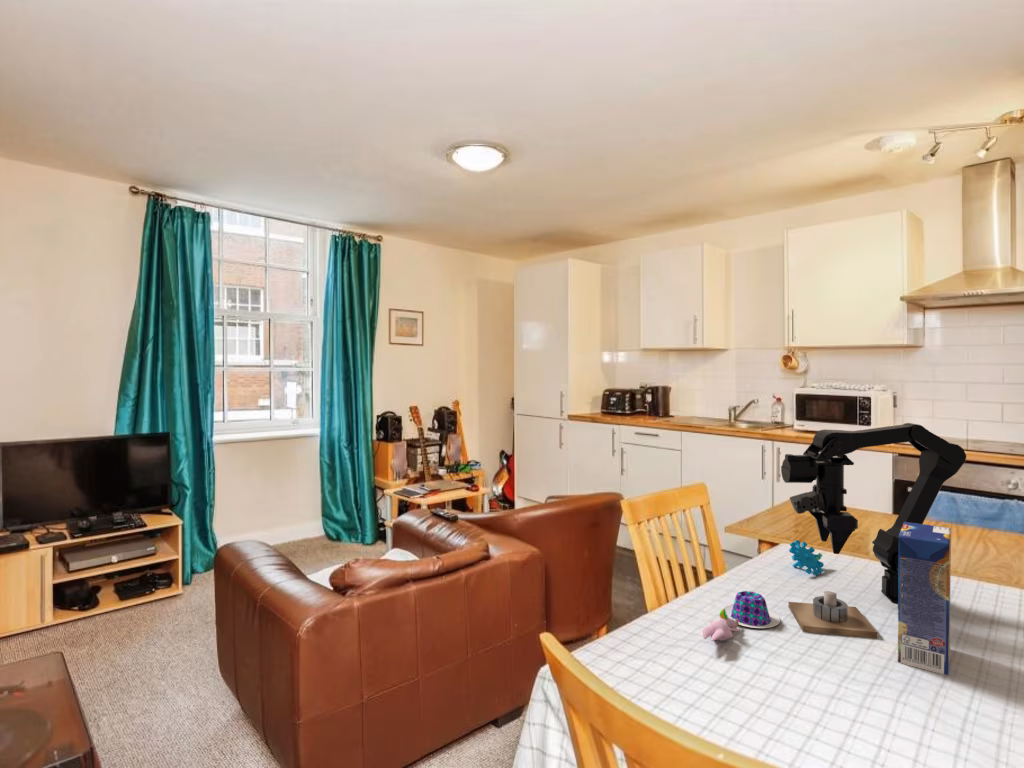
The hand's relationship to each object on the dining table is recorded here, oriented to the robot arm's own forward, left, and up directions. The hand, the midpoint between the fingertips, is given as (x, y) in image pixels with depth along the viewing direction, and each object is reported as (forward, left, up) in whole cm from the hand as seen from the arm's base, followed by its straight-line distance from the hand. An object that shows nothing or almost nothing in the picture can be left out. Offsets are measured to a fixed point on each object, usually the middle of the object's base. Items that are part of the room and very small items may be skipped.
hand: (829, 547), depth 133 cm
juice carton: (-9, +26, -12) cm, 30 cm away
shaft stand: (+4, +14, -12) cm, 19 cm away
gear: (0, -17, -12) cm, 21 cm away
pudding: (+20, +15, -13) cm, 28 cm away
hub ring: (+4, +14, -11) cm, 18 cm away
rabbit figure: (+28, +26, -12) cm, 40 cm away
